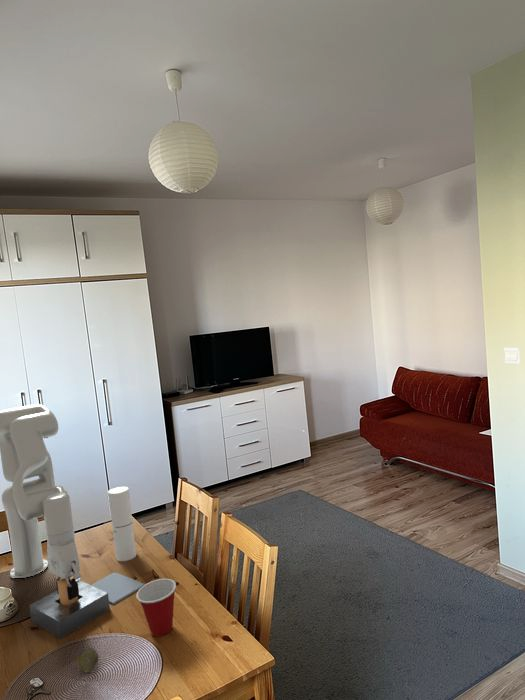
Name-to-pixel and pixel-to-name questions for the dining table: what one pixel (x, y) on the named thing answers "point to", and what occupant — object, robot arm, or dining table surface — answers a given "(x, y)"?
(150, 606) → the plastic cup
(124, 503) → the cylindrical container
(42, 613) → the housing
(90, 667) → the lime
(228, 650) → the dining table surface
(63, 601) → the orange rounded cylinder
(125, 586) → the mat
